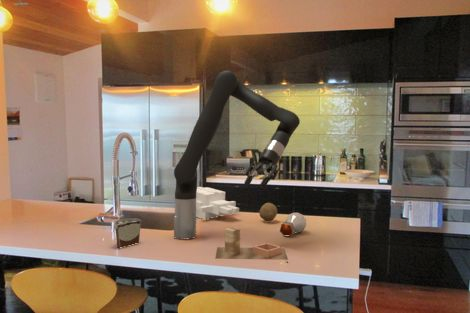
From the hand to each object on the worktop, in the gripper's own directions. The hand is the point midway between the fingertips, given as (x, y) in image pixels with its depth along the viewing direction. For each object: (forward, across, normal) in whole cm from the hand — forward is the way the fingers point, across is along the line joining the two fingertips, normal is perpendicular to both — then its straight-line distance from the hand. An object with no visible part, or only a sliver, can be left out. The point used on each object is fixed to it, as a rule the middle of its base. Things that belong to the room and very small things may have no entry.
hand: (253, 186), depth 168 cm
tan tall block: (+26, 0, +7) cm, 27 cm away
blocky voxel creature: (0, -56, +36) cm, 66 cm away
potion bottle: (-2, -6, +41) cm, 41 cm away
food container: (+40, -41, -9) cm, 58 cm away
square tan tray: (+20, +9, +14) cm, 26 cm away
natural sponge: (-9, -30, +47) cm, 56 cm away
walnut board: (+24, +5, +12) cm, 27 cm away
